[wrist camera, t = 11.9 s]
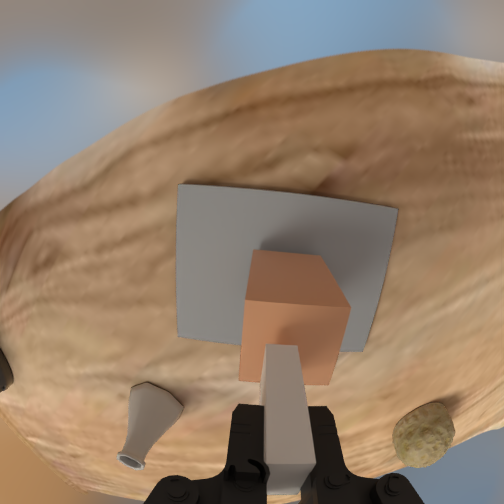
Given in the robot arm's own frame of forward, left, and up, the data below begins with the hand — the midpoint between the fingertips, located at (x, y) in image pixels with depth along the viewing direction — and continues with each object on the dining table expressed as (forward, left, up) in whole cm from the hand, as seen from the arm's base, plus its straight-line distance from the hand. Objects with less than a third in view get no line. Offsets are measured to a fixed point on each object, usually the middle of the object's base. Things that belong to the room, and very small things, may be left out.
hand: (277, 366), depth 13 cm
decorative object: (+25, -22, -12) cm, 35 cm away
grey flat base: (+1, 0, -12) cm, 12 cm away
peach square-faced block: (+1, 0, -10) cm, 10 cm away
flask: (-12, -19, -12) cm, 25 cm away
